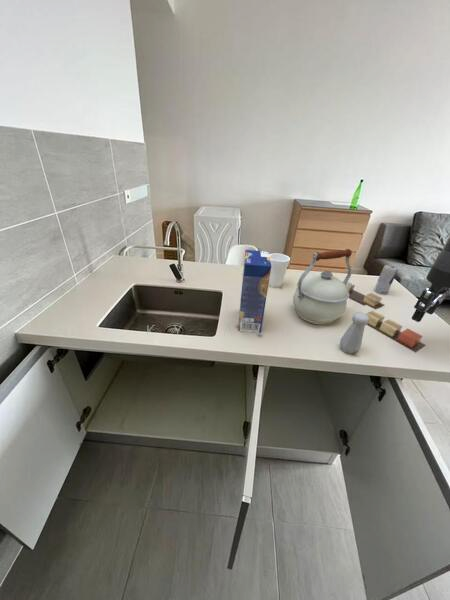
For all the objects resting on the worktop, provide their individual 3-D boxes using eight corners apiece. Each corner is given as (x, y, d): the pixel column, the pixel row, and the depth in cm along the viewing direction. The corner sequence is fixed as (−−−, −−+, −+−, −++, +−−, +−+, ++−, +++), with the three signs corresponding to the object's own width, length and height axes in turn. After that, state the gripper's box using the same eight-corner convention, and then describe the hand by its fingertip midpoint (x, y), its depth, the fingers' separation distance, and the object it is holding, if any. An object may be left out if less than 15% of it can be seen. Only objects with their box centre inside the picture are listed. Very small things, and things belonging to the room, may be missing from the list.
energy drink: (389, 292, 109) (400, 268, 103) (383, 295, 107) (394, 270, 100) (377, 287, 113) (387, 263, 107) (371, 290, 110) (381, 266, 104)
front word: (366, 315, 92) (370, 307, 90) (424, 347, 78) (430, 337, 76) (355, 320, 89) (359, 312, 87) (414, 354, 75) (420, 345, 73)
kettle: (306, 334, 81) (327, 265, 68) (277, 305, 95) (289, 244, 82) (362, 320, 89) (389, 257, 76) (327, 296, 104) (345, 239, 91)
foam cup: (262, 279, 115) (266, 252, 108) (282, 279, 115) (287, 253, 108) (265, 288, 107) (270, 261, 100) (286, 289, 107) (292, 262, 100)
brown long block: (341, 285, 113) (344, 278, 111) (384, 306, 99) (388, 298, 97) (332, 289, 109) (334, 281, 108) (375, 311, 95) (378, 303, 93)
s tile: (403, 335, 82) (407, 328, 80) (418, 343, 79) (422, 336, 77) (396, 339, 80) (400, 332, 78) (411, 347, 76) (416, 340, 75)
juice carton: (260, 333, 80) (271, 266, 68) (238, 331, 81) (244, 264, 68) (259, 312, 91) (268, 251, 78) (239, 311, 91) (245, 249, 78)
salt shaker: (335, 342, 78) (347, 308, 71) (353, 343, 78) (367, 309, 71) (342, 355, 73) (356, 320, 66) (361, 356, 73) (377, 321, 66)
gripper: (457, 278, 59) (425, 330, 68) (477, 268, 66) (445, 316, 75) (423, 266, 65) (397, 316, 73) (445, 258, 71) (419, 304, 80)
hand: (421, 316), depth 74 cm, fingers open, 8 cm apart
